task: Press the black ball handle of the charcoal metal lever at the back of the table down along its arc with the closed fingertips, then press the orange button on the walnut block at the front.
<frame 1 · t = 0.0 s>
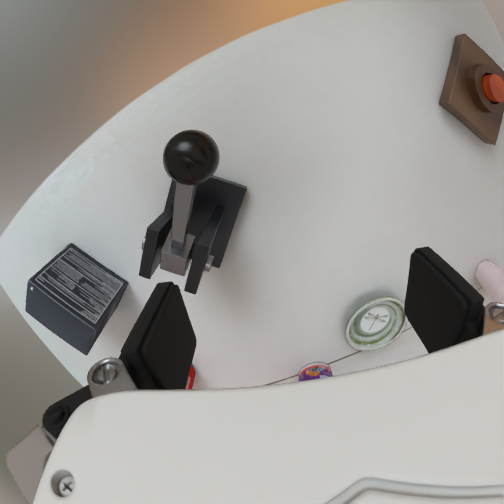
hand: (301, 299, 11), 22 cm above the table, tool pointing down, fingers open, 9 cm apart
button block: (473, 88, 23), on the table
saucer: (372, 315, 38), on the table
lever: (182, 213, 19), point 13 cm above the table, hinge at 30.0°
button: (494, 88, 19), point 4 cm above the table, slide at 0.1 cm
small box: (93, 277, 36), on the table
bracket: (199, 216, 32), on the table
smoothie: (482, 269, 35), on the table
pill bottle: (314, 371, 43), on the table
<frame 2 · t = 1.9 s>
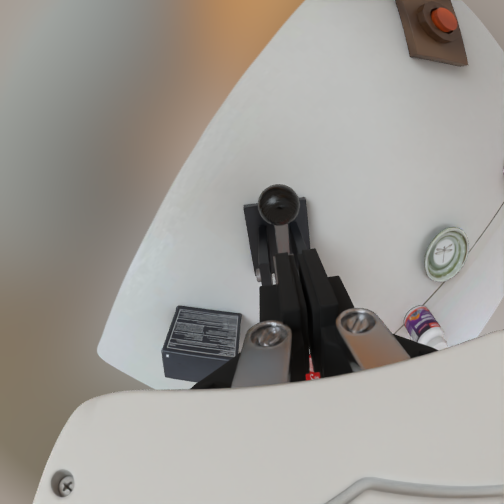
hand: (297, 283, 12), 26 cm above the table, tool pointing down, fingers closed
button block: (428, 26, 24), on the table
saucer: (440, 249, 39), on the table
lever: (282, 242, 26), point 13 cm above the table, hinge at 30.0°
button: (444, 19, 20), point 4 cm above the table, slide at 0.1 cm
small box: (208, 323, 46), on the table
bracket: (278, 236, 39), on the table
pill bottle: (415, 315, 45), on the table
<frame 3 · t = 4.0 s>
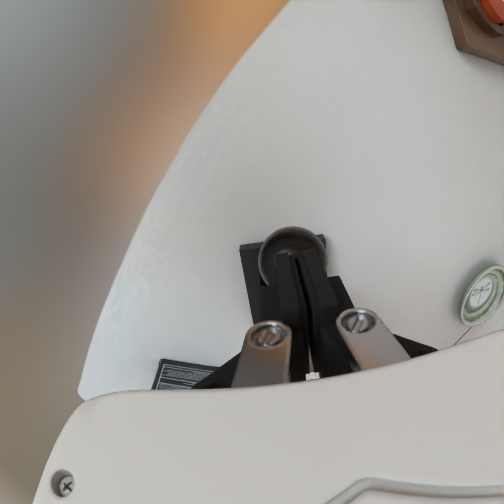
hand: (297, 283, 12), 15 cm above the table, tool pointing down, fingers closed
button block: (473, 15, 14), on the table
saucer: (477, 288, 30), on the table
lever: (296, 317, 16), point 12 cm above the table, hinge at 19.6°
button: (495, 8, 10), point 4 cm above the table, slide at 0.1 cm
small box: (199, 377, 36), on the table
bracket: (286, 284, 29), on the table
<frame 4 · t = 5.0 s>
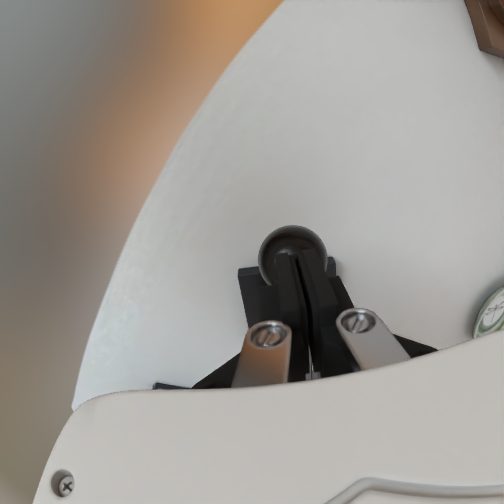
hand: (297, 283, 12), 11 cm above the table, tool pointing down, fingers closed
button block: (493, 13, 11), on the table
saucer: (490, 306, 26), on the table
lever: (300, 341, 15), point 10 cm above the table, hinge at -3.0°, touching gripper
bracket: (290, 310, 26), on the table
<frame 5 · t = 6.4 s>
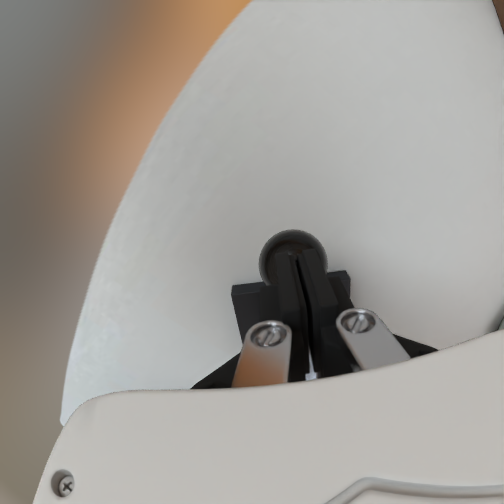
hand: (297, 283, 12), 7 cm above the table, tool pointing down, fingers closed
lever: (304, 364, 13), point 8 cm above the table, hinge at -28.6°, touching gripper
bracket: (294, 332, 21), on the table
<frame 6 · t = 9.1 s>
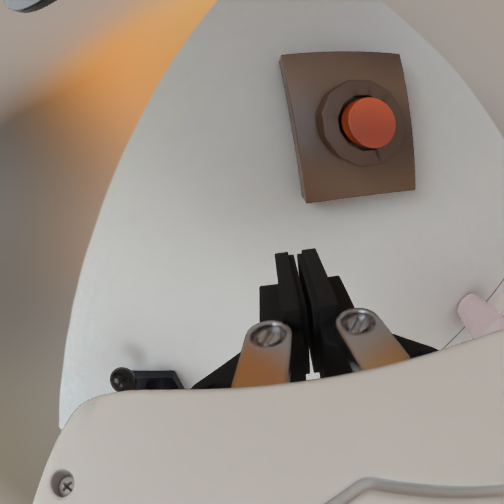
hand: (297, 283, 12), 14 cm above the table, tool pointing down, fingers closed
button block: (349, 122, 21), on the table
lever: (134, 417, 27), point 8 cm above the table, hinge at -28.7°
button: (368, 122, 17), point 4 cm above the table, slide at 0.1 cm
bracket: (161, 393, 36), on the table
smoothie: (466, 304, 29), on the table
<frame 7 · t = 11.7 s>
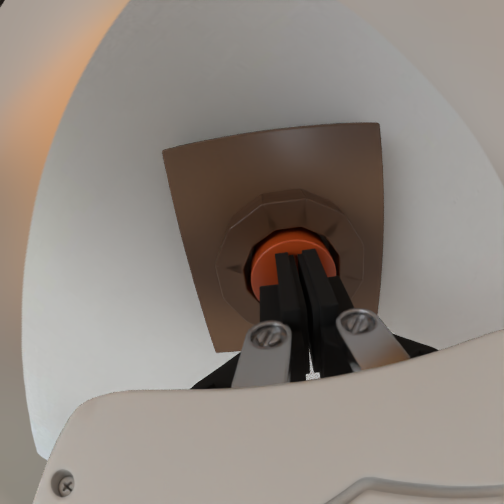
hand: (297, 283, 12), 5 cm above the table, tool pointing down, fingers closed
button block: (284, 238, 16), on the table
button: (292, 270, 12), point 4 cm above the table, slide at -0.7 cm, touching gripper
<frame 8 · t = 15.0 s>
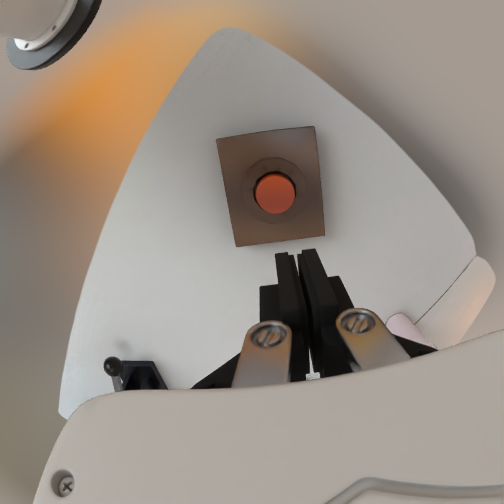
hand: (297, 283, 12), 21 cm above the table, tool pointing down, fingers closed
button block: (272, 184, 31), on the table
lever: (120, 395, 37), point 8 cm above the table, hinge at -28.7°
button: (275, 193, 27), point 4 cm above the table, slide at 0.1 cm
bracket: (143, 379, 45), on the table
smoothie: (395, 322, 39), on the table
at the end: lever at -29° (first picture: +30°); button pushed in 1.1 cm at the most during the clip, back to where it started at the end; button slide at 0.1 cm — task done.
